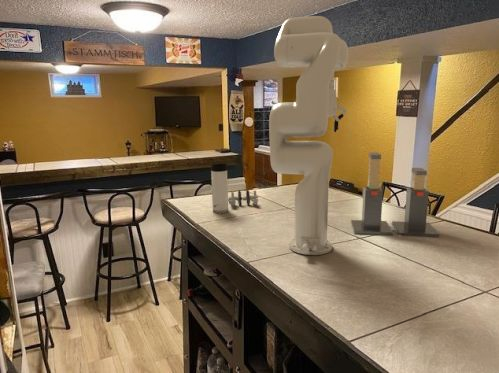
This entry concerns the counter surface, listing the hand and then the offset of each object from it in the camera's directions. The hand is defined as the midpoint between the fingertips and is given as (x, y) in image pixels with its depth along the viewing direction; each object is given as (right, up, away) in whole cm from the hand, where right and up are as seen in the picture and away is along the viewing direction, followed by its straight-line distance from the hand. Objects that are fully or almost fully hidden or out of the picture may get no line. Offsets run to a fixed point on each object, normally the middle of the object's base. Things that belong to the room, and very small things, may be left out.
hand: (322, 131), depth 147 cm
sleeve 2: (+27, -36, -20) cm, 49 cm away
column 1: (+13, -29, -19) cm, 37 cm away
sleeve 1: (+13, -35, -18) cm, 42 cm away
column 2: (+27, -34, -20) cm, 48 cm away
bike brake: (-31, -29, +20) cm, 47 cm away
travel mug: (-40, -31, +6) cm, 51 cm away
